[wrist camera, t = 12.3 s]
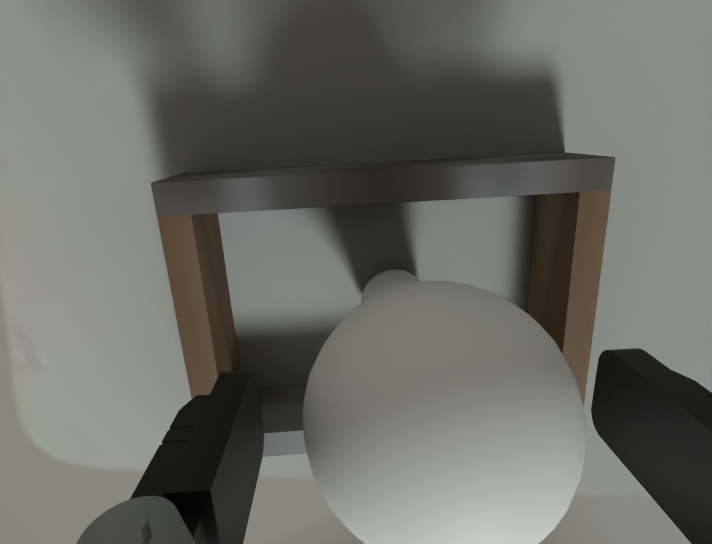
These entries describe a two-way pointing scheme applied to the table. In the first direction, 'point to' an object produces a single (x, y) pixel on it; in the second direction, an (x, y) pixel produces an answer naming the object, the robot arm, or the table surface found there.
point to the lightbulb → (443, 418)
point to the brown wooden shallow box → (376, 186)
